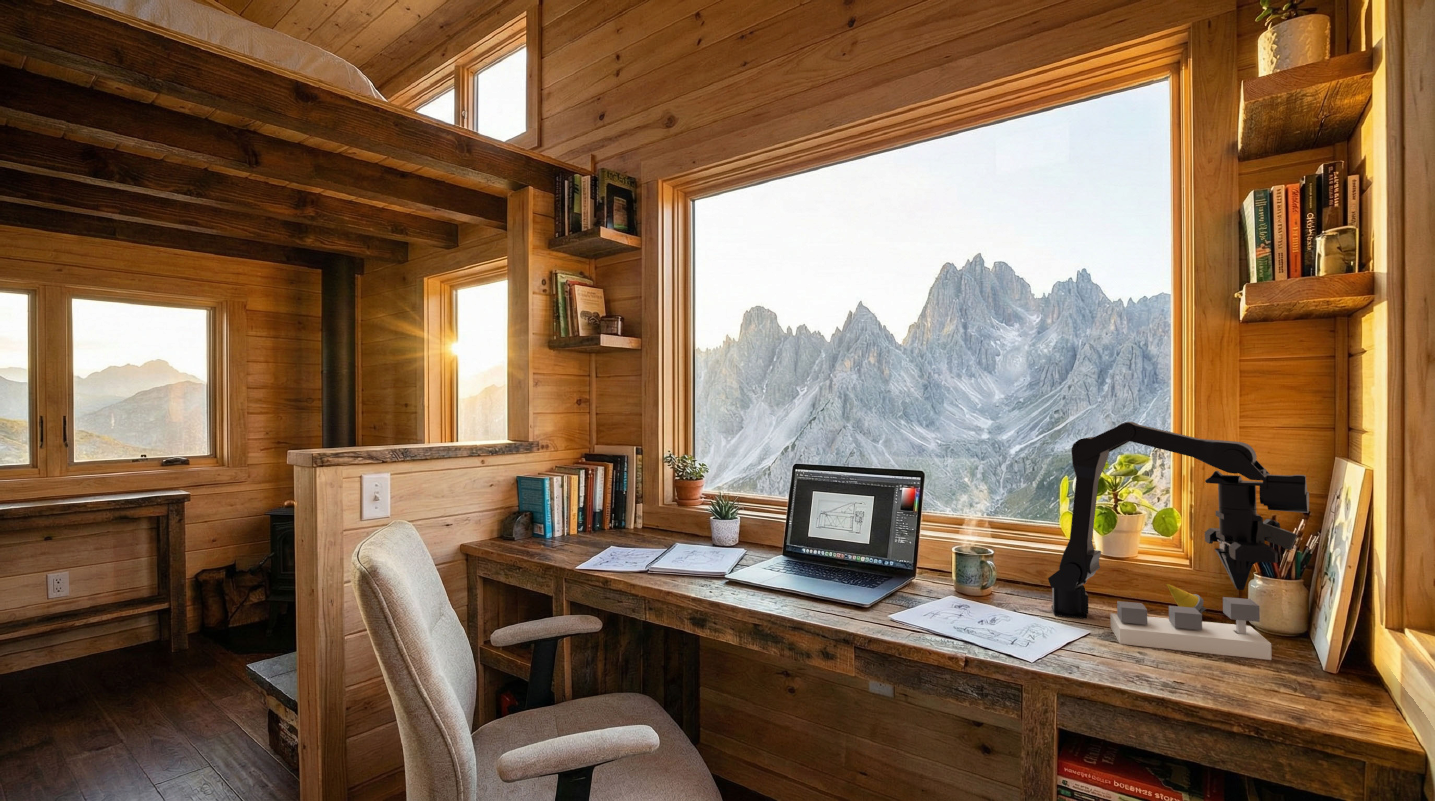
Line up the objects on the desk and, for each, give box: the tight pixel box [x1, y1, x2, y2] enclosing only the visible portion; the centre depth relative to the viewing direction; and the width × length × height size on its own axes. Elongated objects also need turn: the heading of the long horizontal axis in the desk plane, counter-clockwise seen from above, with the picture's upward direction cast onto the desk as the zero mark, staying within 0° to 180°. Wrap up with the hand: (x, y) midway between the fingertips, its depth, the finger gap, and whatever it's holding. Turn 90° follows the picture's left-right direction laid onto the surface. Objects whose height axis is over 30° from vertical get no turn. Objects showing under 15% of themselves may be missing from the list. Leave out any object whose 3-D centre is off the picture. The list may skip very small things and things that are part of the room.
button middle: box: [1168, 605, 1203, 630], centre depth 130 cm, size 4×4×6 cm
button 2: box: [1222, 596, 1261, 634], centre depth 126 cm, size 4×4×6 cm
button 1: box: [1116, 600, 1148, 625], centre depth 133 cm, size 4×4×6 cm
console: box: [1109, 612, 1272, 661], centre depth 130 cm, size 24×10×3 cm, turn 68°
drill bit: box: [1165, 583, 1207, 617], centre depth 146 cm, size 5×5×10 cm
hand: (1239, 589), depth 126 cm, fingers closed
